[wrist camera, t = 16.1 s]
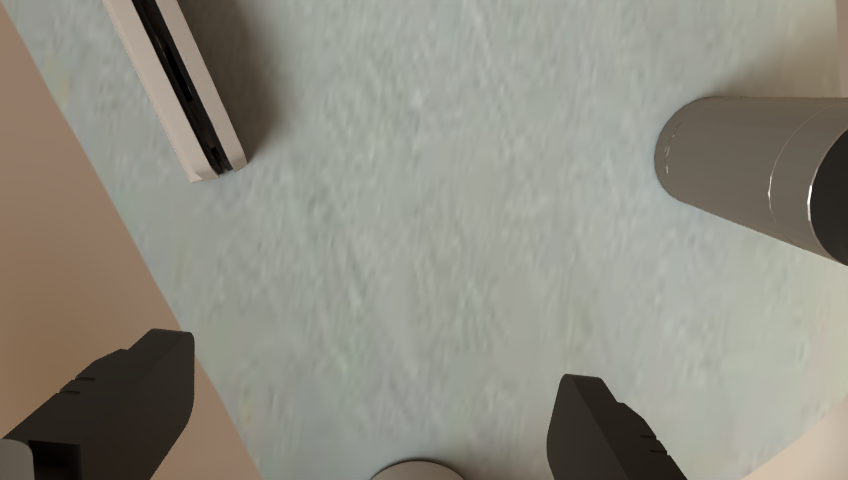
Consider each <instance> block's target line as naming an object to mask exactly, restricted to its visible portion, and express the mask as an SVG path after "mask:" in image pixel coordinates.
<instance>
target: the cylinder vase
mask: <svg viewBox="0 0 848 480" xmlns="http://www.w3.org/2000/svg"><path fill="white" fill-rule="evenodd" d="M372 480H464V479H463V478H461V477H460V476H459V475H458V474H457V473H455V472H454V471H452V470H451V469H449V468H447V467H444V466H442V465H439V464H436V463H431V462H424V461H412V462H405V463H400V464H397V465H394V466H391V467H389V468H387V469H385V470H383V471H382V472H380V473H379V474H377V475H376V476H375V477H374V478H373V479H372Z"/></svg>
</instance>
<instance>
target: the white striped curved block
mask: <svg viewBox="0 0 848 480" xmlns="http://www.w3.org/2000/svg"><path fill="white" fill-rule="evenodd" d="M102 2H103V4H104V6H105V8H106V10H107V12H108V14H109V16H110V18H111V20H112V22H113V24H114V26H115V29H116V31H117V33H118V35H119V37H120V39H121V41H122V43H123V45H124V47H125V49H126V51H127V53H128V55H129V57H130V59H131V61H132V64H133V66H134V68H135V70H136V72H137V74H138V76H139V78H140V80H141V82H142V84H143V86H144V88H145V90H146V92H147V94H148V97H149V99H150V101H151V103H152V105H153V107H154V109H155V111H156V113H157V115H158V117H159V119H160V121H161V123H162V125H163V127H164V129H165V132H166V134H167V136H168V138H169V140H170V142H171V144H172V146H173V148H174V150H175V152H176V154H177V156H178V158H179V160H180V162H181V165H182V167H183V169H184V171H185V173H186V175H187V177H188V179H189V181H190V183H194V182H200V181H205V180H211V179H217V178H220V177H219V175H218V174H221V173H223V171H222V169H221V166H220V164H219V162H218V160H217V158H216V156H215V154H214V152H213V151H211V149H210V148H214V147H216V149H217V151H218V153H219V155H220V157H221V159H222V161H223V163H224V164H225V166H226V167H227V169H228V170H229V171H230V170H232V169H234V171H235V172H237V171H238V170H240V169H241V168H243V167H244V166H246V165H247V161H246V157H245V154H244V152H243V149H242V147H241V145H240V142H239V140H238V138H237V136H236V133H235V131H234V129H233V126H232V124H231V122H230V120H229V117H228V115H227V113H226V110H225V108H224V106H223V104H222V101H221V99H220V97H219V95H218V92H217V90H216V88H215V85H214V83H213V81H212V79H211V76H210V74H209V72H208V70H207V67H206V65H205V63H204V61H203V58H202V56H201V54H200V52H199V49H198V47H197V45H196V43H195V40H194V38H193V36H192V34H191V31H190V29H189V27H188V25H187V22H186V20H185V18H184V16H183V14H182V11H181V9H180V7H179V5H178V2H177V0H102ZM169 49H170V50H171V52H172V54H173V56H174V58H175V61H176V63H177V65H178V67H179V69H180V71H181V74H182V76H183V78H184V80H185V82H186V84H187V86H188V89H189V91H190V93H191V95H192V97H193V99H194V100H193V101H187V100H186V98H185V96H184V93H183V91H182V89H181V87H180V85H179V83H178V80H177V78H176V76H175V74H174V72H173V70H172V68H171V65H170V63H169V61H168V59H167V57H166V55H165V52H166V51H167V50H169Z"/></svg>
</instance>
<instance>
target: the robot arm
mask: <svg viewBox="0 0 848 480" xmlns="http://www.w3.org/2000/svg"><path fill="white" fill-rule="evenodd" d="M654 161H655V170H656V174H657V177H658V180H659V181H660V183H661V185H662V187H663V188H664V189H665V190H666V191H667V192H668V194H669V195H671V196H672V197H674V198H675V199H677V200H679V201H681V202H684V203H686V204H689V205H691V206H694V207H697V208H699V209H702V210H704V211H706V212H709V213H711V214H714V215H716V216H719V217H722V218H724V219H727V220H729V221H732V222H734V223H737V224H740V225H742V226H745V227H747V228H750V229H753V230H755V231H758V232H760V233H763V234H765V235H768V236H771V237H773V238H776V239H778V240H781V241H784V242H786V243H789V244H791V245H794V246H796V247H799V248H802V249H804V250H807V251H810V252H813V253H815V254H818V255H820V256H823V257H826V258H828V259H831V260H833V261H836V262H838V263H841V264H844V265H846V266H848V98H806V97H709V98H704V99H700V100H697V101H694V102H692V103H690V104H688V105H687V106H685V107H683V108H682V109H681V110H679V111H678V112H677V113H676V114H674V116H673V117H672V118H671V119H670V120H669V121H668V122H667V124H666V125H665V127H664V129H663V130H662V132H661V134H660V136H659V139H658V141H657V144H656V149H655V155H654ZM194 351H195V344H194V337H193V335H192V333H190V332H183V331H173V330H165V329H151V330H150V331H148V332H147V333H146V334H145V335H144V336H143V337H142V338H141V339H139V340H138V341H137V342H136V343H135V344H134V345H133V346H132V347H131V348H129V349H128V350H124V349H119V350H117V351H115V352H113V353H111V354H109V355H106V356H104V357H102V358H100V359H98V360H96V361H94V362H93V363H91V364H90V365H89V366H88V367H87V368H85V369H84V370H83V371H82V372H81V373H80V374H78V375H77V376H76V378H75V380H71V381H70V382H69V383H68V384H66V385H65V386H64V387H63V388H62V389H61V390H60V392H59V393H56V394H55V395H53V396H52V397H51V398H50V399H49V400H47V401H46V402H45V403H44V404H43V405H41V406H40V407H39V408H38V409H37V410H35V411H34V412H33V413H32V414H31V415H30V416H28V417H27V418H26V419H25V420H24V421H22V422H21V423H20V424H19V425H18V426H16V427H15V428H14V429H13V430H12V431H10V432H9V433H8V434H7V435H6V436H4V437H3V438H2V439H0V480H150V479H151V477H152V476H153V474H154V473H155V471H156V470H157V468H158V467H159V465H160V464H161V462H162V461H163V459H164V457H165V456H166V455H167V454H168V452H169V451H170V449H171V448H172V446H173V445H174V443H175V442H176V440H177V439H178V437H179V436H180V434H181V433H182V431H183V430H184V428H185V427H186V425H187V423H188V421H189V418H190V415H191V412H192V408H193V403H194V402H193V401H194ZM547 457H548V462H549V466H550V468H551V471H552V474H553V476H554V479H555V480H687V478H686V477H685V476H684V474H683V473H682V472H681V470H680V469H679V467H678V466H677V465H676V463H675V462H674V460H673V459H672V458H671V456H670V455H667V451H666V449H665V448H664V446H663V445H662V444H661V442H660V441H659V440H657V439H656V435H655V434H654V433H653V431H652V430H651V428H650V427H649V426H648V424H647V423H646V421H645V420H644V419H643V418H642V417H641V416H639V415H638V414H637V413H636V412H634V411H633V410H632V409H631V408H629V407H628V406H627V405H626V404H624V403H619V402H617V401H616V399H615V398H614V396H613V395H612V393H611V392H610V390H609V389H608V387H607V386H606V385H605V383H604V382H603V380H602V379H601V378H599V377H591V376H582V375H572V374H565V375H564V376H563V377H562V379H561V381H560V384H559V388H558V392H557V397H556V401H555V405H554V409H553V413H552V417H551V422H550V426H549V430H548V435H547Z"/></svg>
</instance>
